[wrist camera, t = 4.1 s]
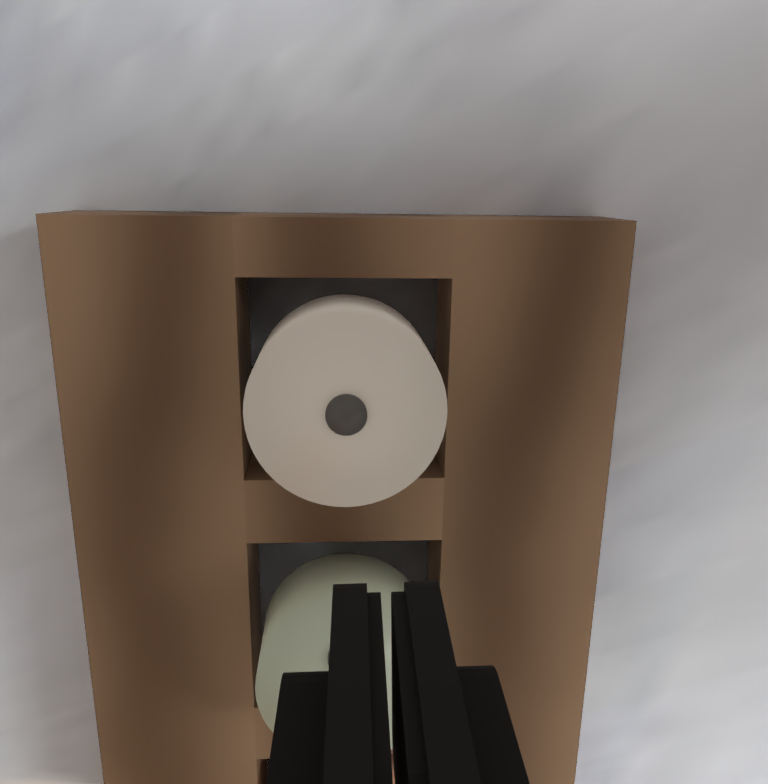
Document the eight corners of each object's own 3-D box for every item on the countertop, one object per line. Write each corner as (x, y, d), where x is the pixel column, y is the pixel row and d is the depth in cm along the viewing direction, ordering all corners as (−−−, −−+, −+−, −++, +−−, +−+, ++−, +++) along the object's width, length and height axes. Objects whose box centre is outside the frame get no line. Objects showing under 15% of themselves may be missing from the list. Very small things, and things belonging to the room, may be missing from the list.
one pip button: (434, 294, 17) (452, 314, 15) (429, 462, 18) (444, 508, 16) (253, 294, 17) (237, 313, 14) (259, 464, 18) (246, 511, 16)
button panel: (599, 216, 19) (636, 220, 17) (538, 844, 26) (560, 912, 23) (74, 210, 18) (35, 214, 16) (143, 862, 25) (122, 935, 22)
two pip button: (425, 551, 19) (440, 609, 17) (421, 688, 20) (434, 762, 18) (262, 554, 19) (250, 614, 16) (268, 693, 20) (257, 769, 18)
